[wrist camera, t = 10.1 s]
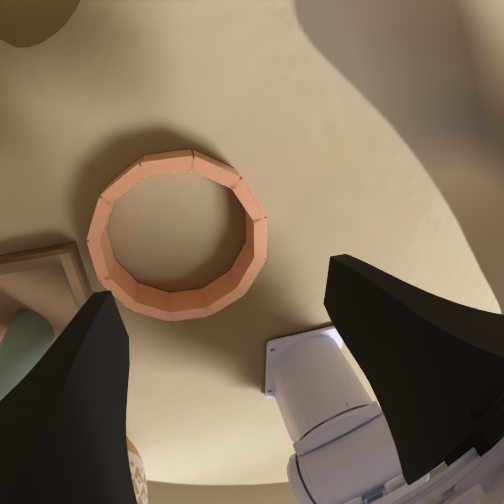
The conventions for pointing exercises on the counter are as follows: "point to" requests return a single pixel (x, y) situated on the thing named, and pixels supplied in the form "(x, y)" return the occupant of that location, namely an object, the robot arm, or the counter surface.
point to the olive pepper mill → (33, 19)
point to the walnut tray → (43, 285)
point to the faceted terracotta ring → (190, 300)
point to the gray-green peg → (23, 347)
